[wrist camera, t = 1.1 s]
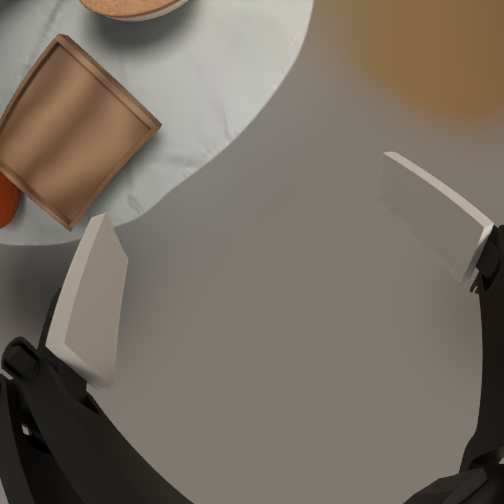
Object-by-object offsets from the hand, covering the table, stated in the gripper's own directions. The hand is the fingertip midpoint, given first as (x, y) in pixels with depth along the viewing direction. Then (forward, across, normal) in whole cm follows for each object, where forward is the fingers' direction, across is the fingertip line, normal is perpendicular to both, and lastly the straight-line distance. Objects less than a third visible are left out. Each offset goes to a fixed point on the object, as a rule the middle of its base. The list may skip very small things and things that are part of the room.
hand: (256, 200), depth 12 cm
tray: (+23, -16, +4) cm, 29 cm away
